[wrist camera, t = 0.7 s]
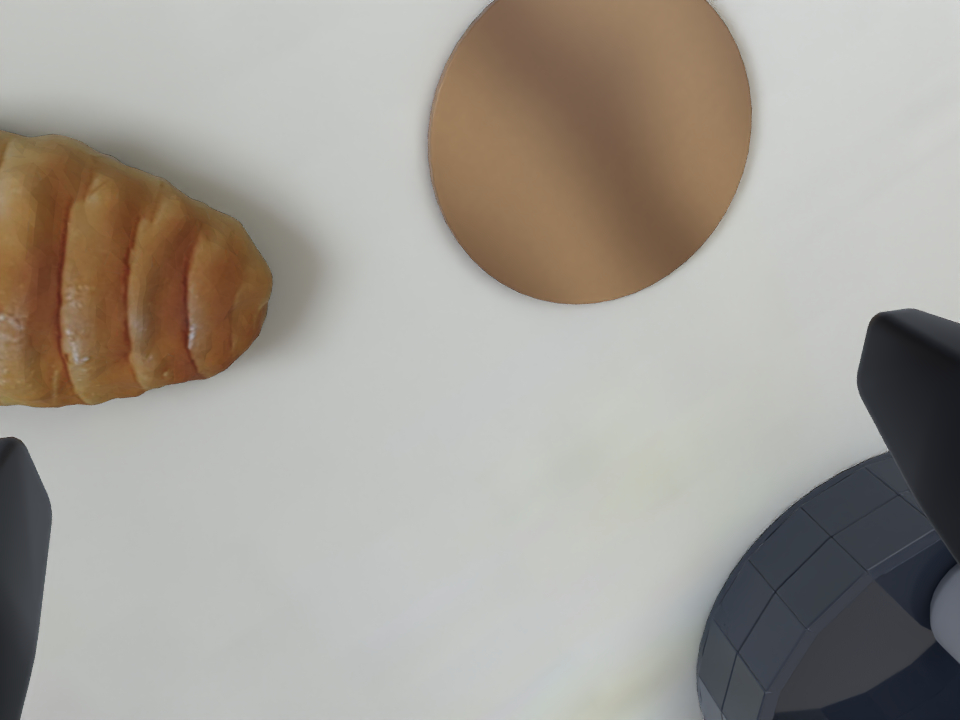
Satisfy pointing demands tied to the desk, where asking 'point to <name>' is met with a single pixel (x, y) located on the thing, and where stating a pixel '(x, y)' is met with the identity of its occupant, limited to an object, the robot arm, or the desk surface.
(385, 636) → the desk surface
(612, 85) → the coaster
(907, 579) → the pan
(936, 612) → the beverage can
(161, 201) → the pastry
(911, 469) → the robot arm
